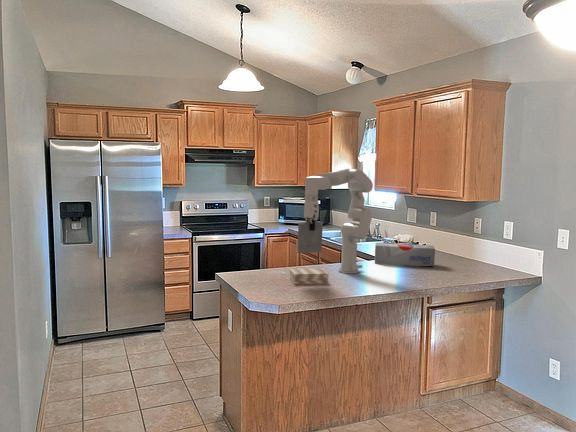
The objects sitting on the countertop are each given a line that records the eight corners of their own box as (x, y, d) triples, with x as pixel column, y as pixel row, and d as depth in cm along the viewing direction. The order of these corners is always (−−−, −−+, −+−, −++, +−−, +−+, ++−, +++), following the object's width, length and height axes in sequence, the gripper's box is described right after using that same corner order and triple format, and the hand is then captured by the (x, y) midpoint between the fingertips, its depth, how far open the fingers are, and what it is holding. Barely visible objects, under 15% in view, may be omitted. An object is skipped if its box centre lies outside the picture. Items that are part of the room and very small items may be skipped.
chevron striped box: (322, 278, 287) (322, 268, 286) (328, 283, 273) (328, 273, 272) (289, 278, 284) (290, 268, 283) (294, 284, 270) (294, 274, 269)
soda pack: (432, 264, 336) (433, 245, 335) (434, 268, 324) (435, 248, 322) (374, 260, 344) (375, 241, 343) (374, 264, 332) (375, 244, 330)
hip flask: (299, 253, 271) (300, 218, 269) (295, 252, 274) (296, 218, 272) (322, 251, 278) (323, 218, 276) (318, 250, 282) (320, 217, 280)
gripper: (324, 199, 267) (323, 231, 269) (309, 197, 282) (308, 227, 284) (313, 199, 264) (311, 232, 266) (298, 197, 279) (297, 228, 281)
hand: (310, 229), depth 275 cm, fingers closed on hip flask, 3 cm apart
